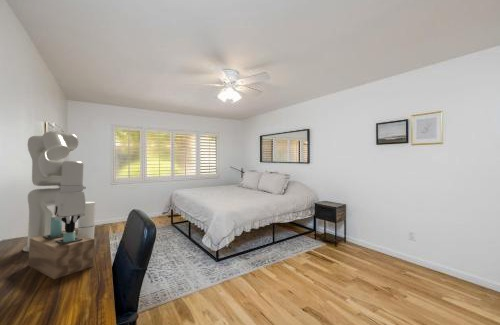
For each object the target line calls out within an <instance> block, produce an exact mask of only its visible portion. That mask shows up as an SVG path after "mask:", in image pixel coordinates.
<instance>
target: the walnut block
mask: <svg viewBox="0 0 500 325" xmlns="http://www.w3.org/2000/svg"><path fill="white" fill-rule="evenodd" d="M64 232H66V231H65V230H64V231H62V236H57V237H52V238H51V237H50V235H44V236H39V237H34V238H30V246H29V252H28V263H27V264H28V267H30V268H32V269H34V270H36V271H37V272H39V273H42V274H43V275H44V276H46V277H49V278H51V279H52V280H57V279H59V278H63V277H66V276H68V275H71V274H74V273H78V272H80V271H83V270H86V269H90V268H92V267H94V252H95V251H94V250H95V238H94V239H93V238H89V237H86V236H82V235H79V234H78V233H76V232H75V240H73V241H69V242H63V234H64Z"/></svg>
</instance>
